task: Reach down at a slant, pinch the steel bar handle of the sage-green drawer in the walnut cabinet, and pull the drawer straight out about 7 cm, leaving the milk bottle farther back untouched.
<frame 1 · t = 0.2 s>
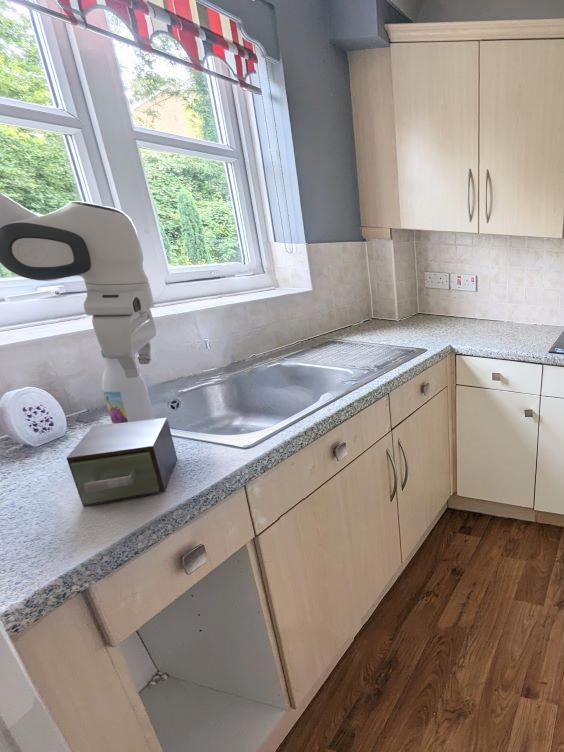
hand: (139, 369, 88), 20 cm above the table, tool pointing down, fingers open, 8 cm apart
cabinet: (134, 480, 88), on the table
drawer: (123, 467, 83), point 5 cm above the table, slide at 0.0 cm
milk bottle: (136, 429, 110), on the table
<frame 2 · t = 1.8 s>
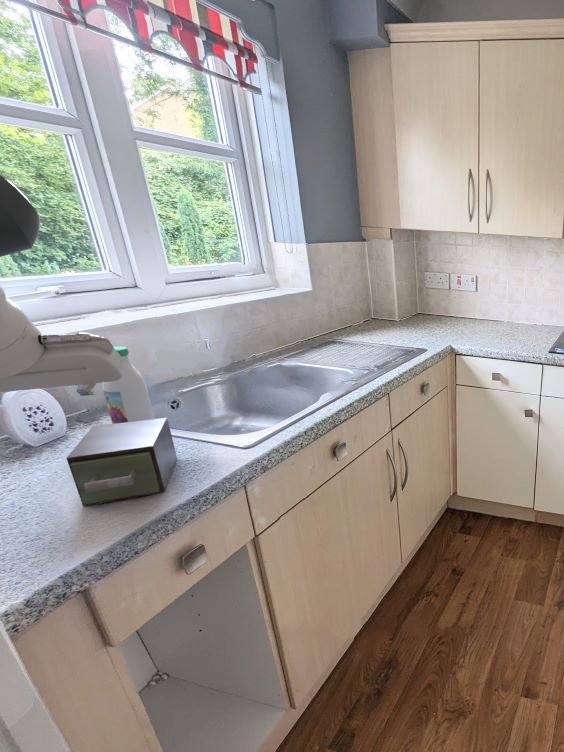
hand: (43, 395, 63), 24 cm above the table, tool tilted 45°, fingers open, 8 cm apart
nothing on the table moved.
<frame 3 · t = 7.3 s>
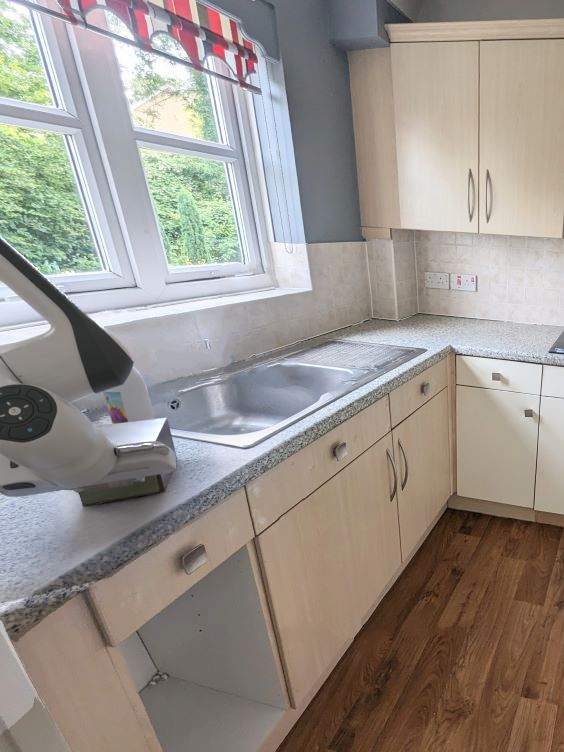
hand: (111, 482, 77), 5 cm above the table, tool tilted 45°, fingers closed on drawer, 6 cm apart
drawer: (123, 467, 83), point 5 cm above the table, slide at 0.0 cm, touching gripper
everything else where it was.
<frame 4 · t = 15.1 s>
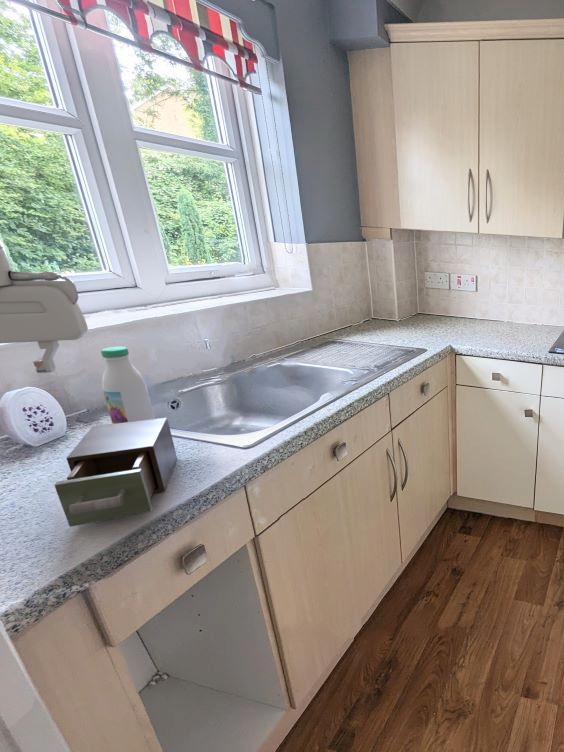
drawer: (112, 485, 78), point 5 cm above the table, slide at 7.0 cm
everything else where it was.
at the end: drawer slide at 7.0 cm; milk bottle moved 0.2 cm from its start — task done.
